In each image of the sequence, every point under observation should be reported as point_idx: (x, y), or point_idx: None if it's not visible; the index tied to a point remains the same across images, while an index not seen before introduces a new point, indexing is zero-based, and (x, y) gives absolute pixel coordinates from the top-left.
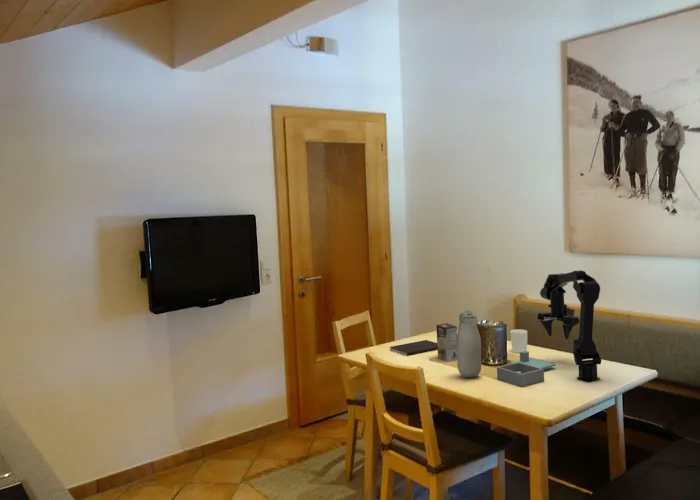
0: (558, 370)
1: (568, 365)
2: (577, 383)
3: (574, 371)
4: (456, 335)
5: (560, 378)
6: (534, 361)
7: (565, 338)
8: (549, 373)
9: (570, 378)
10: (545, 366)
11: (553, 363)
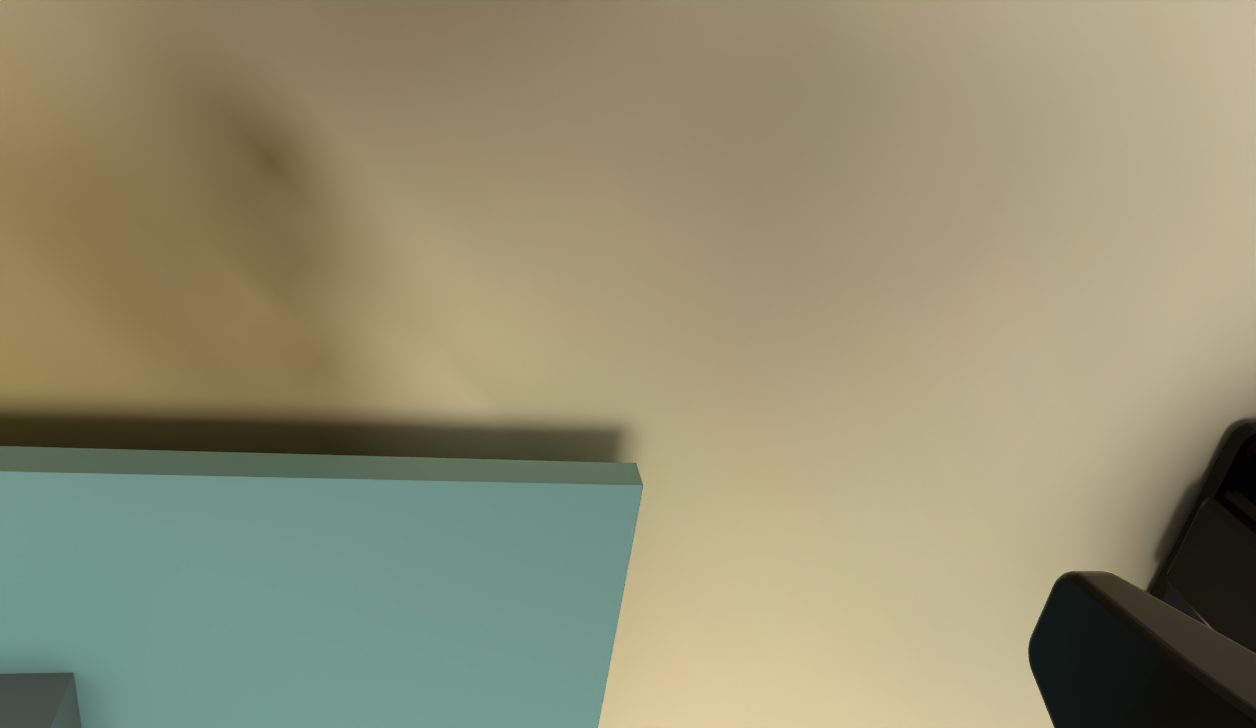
0: (715, 480)
1: (670, 70)
2: None
3: (968, 349)
4: None
5: (943, 722)
6: (174, 624)
7: (1053, 707)
8: (698, 675)
9: None
10: (587, 701)
11: (571, 486)
